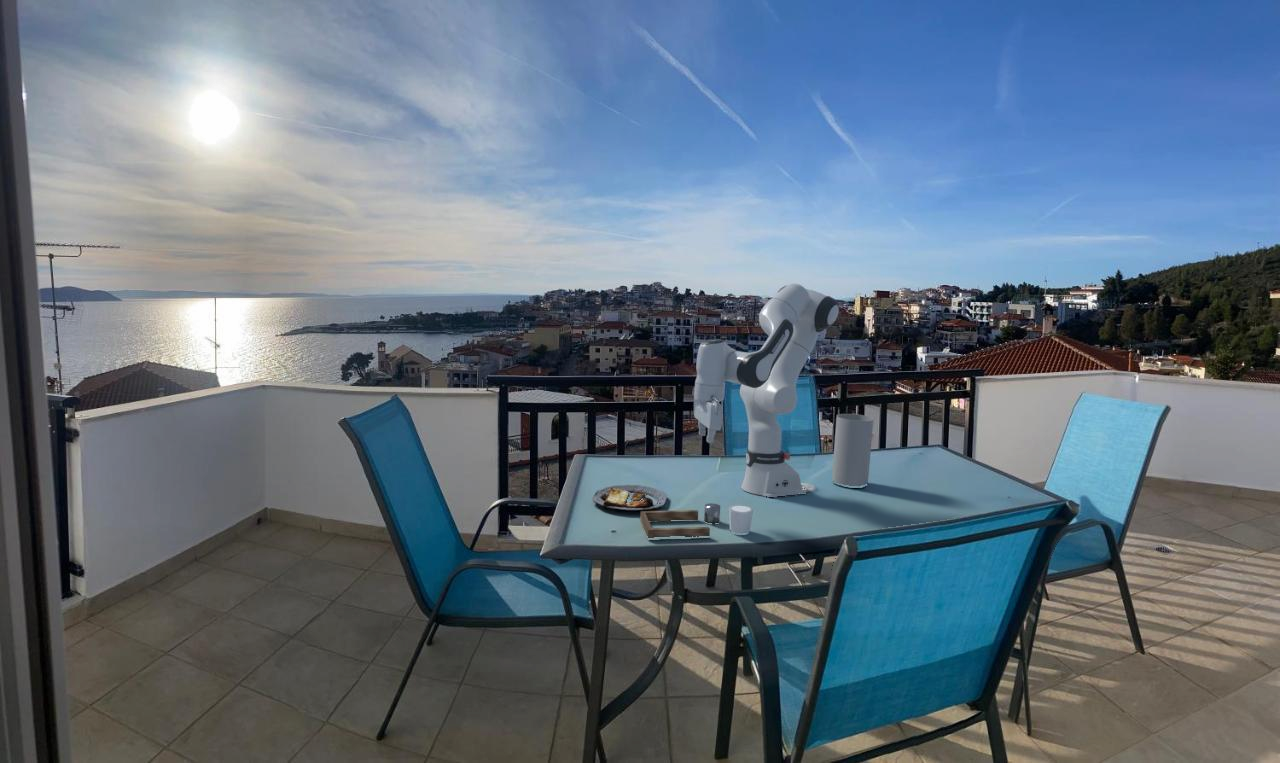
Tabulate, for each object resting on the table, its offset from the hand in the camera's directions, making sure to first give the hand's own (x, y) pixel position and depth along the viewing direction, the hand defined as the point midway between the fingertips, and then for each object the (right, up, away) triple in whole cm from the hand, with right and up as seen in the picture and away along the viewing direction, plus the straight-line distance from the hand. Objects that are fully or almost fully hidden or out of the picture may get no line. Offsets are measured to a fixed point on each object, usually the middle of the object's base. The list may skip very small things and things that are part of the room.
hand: (705, 438), depth 179 cm
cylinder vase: (+57, -21, +39) cm, 72 cm away
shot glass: (+9, -26, -9) cm, 29 cm away
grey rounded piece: (+2, -25, -2) cm, 25 cm away
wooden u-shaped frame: (-10, -25, -9) cm, 28 cm away
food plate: (-23, -22, +13) cm, 35 cm away
